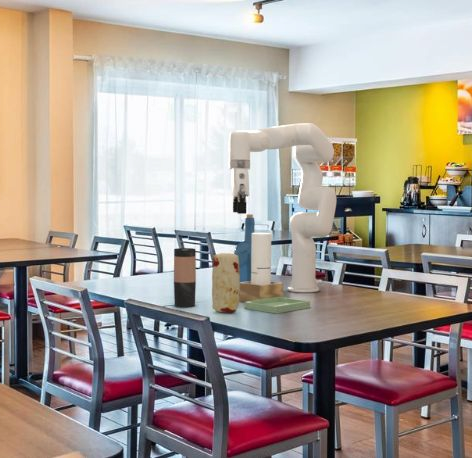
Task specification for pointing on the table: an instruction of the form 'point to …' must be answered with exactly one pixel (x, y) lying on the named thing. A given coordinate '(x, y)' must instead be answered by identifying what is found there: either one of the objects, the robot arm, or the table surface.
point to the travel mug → (184, 277)
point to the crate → (259, 291)
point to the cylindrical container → (261, 259)
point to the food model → (225, 282)
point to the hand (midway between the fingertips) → (239, 213)
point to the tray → (277, 305)
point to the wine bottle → (245, 250)
